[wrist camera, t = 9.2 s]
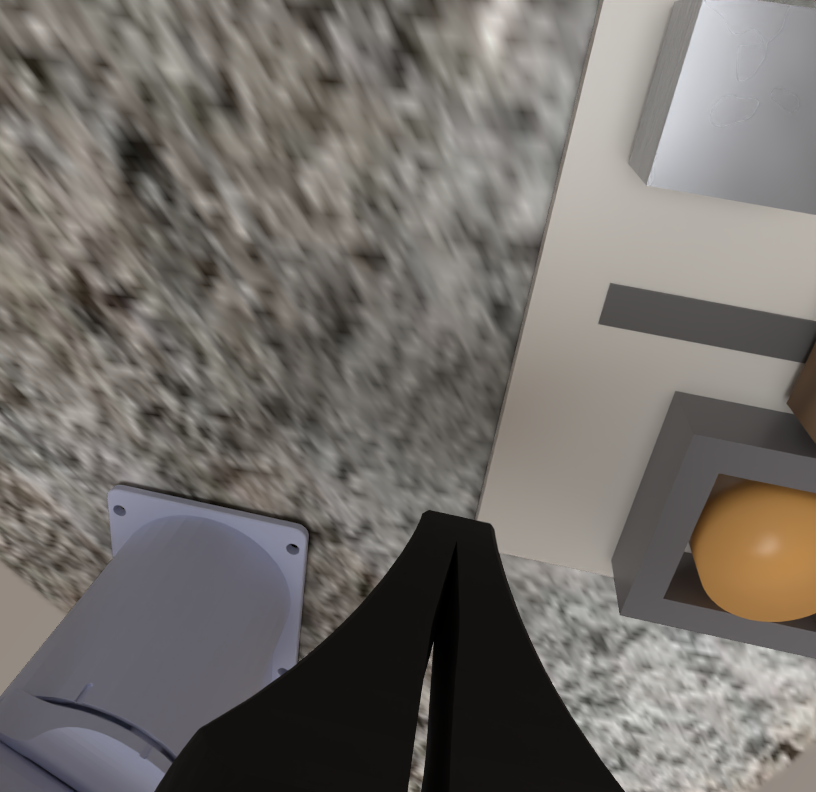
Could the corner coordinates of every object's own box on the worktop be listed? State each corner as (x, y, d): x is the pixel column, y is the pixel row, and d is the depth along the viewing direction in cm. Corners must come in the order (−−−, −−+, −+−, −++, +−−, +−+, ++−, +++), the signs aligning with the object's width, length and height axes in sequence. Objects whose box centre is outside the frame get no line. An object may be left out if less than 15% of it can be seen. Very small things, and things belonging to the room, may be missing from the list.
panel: (809, 597, 24) (853, 684, 20) (473, 524, 24) (464, 597, 21) (1122, 64, 15) (1279, 68, 12) (603, -16, 16) (621, -32, 13)
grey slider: (792, 192, 16) (842, 220, 14) (627, 163, 17) (646, 185, 14) (858, 29, 15) (930, 26, 12) (674, 2, 15) (705, -9, 12)
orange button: (790, 574, 21) (820, 635, 19) (664, 548, 22) (679, 604, 19) (847, 472, 19) (887, 526, 17) (707, 444, 20) (730, 494, 18)
